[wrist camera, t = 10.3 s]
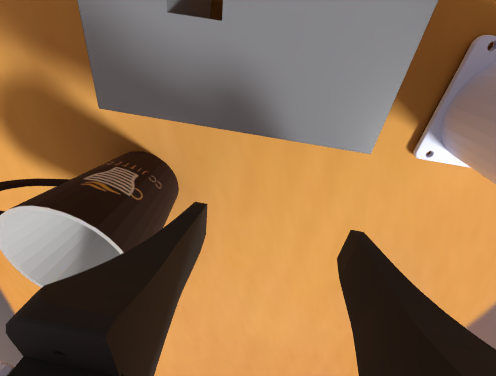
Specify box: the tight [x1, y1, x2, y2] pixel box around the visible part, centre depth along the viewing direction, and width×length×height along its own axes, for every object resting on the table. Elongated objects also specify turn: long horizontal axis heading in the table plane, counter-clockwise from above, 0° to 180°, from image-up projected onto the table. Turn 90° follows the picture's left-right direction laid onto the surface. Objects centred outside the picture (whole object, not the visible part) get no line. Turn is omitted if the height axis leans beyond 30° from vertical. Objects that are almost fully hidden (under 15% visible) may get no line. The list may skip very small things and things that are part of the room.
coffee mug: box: [0, 151, 179, 288], centre depth 18 cm, size 12×9×10 cm
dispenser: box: [77, 0, 438, 154], centre depth 13 cm, size 14×9×7 cm, turn 82°
